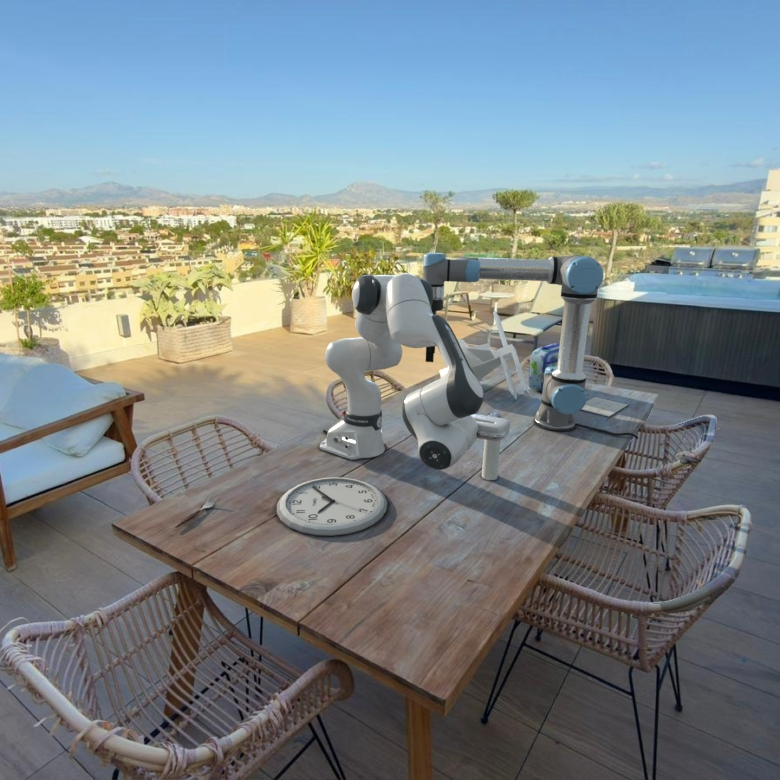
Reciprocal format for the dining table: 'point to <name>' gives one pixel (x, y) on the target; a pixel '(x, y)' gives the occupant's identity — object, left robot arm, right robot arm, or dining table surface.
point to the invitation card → (603, 406)
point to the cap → (497, 414)
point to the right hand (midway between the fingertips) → (430, 357)
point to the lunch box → (542, 364)
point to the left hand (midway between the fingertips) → (475, 413)
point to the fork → (206, 505)
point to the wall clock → (331, 506)
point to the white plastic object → (492, 359)
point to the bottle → (490, 459)
